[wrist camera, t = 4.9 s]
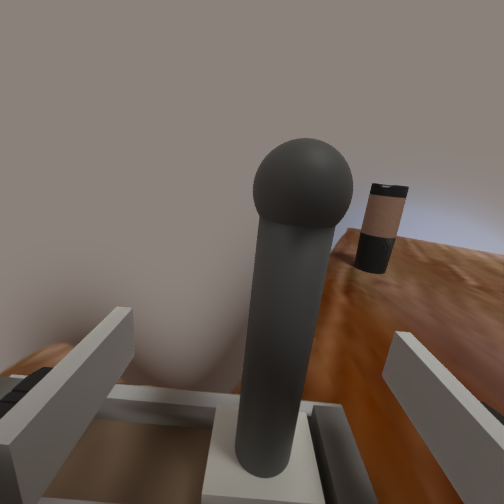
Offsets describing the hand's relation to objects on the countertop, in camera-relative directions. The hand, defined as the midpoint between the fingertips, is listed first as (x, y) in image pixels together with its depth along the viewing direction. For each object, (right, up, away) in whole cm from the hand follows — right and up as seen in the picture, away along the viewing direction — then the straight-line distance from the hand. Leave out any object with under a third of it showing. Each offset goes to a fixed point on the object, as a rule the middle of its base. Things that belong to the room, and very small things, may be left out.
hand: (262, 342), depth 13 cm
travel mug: (+28, 0, +50) cm, 58 cm away
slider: (0, -9, +2) cm, 9 cm away
